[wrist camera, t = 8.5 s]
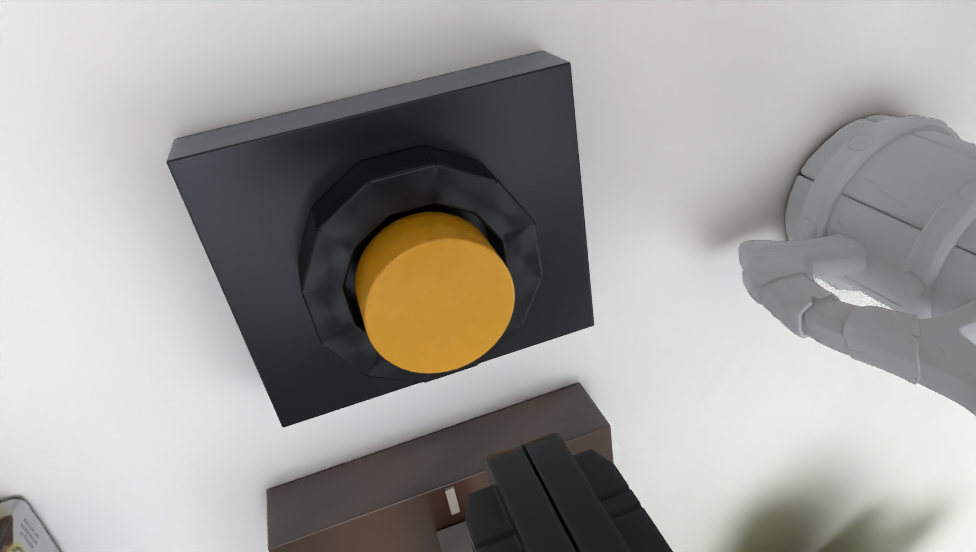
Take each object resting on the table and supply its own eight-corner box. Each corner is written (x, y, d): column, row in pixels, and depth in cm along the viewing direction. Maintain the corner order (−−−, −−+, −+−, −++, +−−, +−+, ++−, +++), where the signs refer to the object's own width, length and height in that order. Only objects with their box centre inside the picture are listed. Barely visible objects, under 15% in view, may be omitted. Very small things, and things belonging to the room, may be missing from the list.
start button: (481, 193, 19) (503, 220, 18) (503, 314, 22) (524, 347, 20) (336, 234, 19) (345, 265, 17) (374, 354, 21) (385, 393, 19)
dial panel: (580, 382, 29) (612, 427, 27) (596, 526, 34) (624, 577, 32) (266, 490, 27) (267, 552, 24) (334, 629, 32) (341, 693, 29)
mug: (912, 239, 32) (1221, 387, 21) (697, 322, 30) (923, 527, 20) (937, 83, 28) (1329, 176, 17) (689, 168, 26) (968, 326, 16)
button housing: (544, 49, 22) (596, 73, 18) (571, 298, 27) (616, 351, 24) (173, 138, 20) (157, 183, 16) (280, 390, 25) (284, 464, 21)
